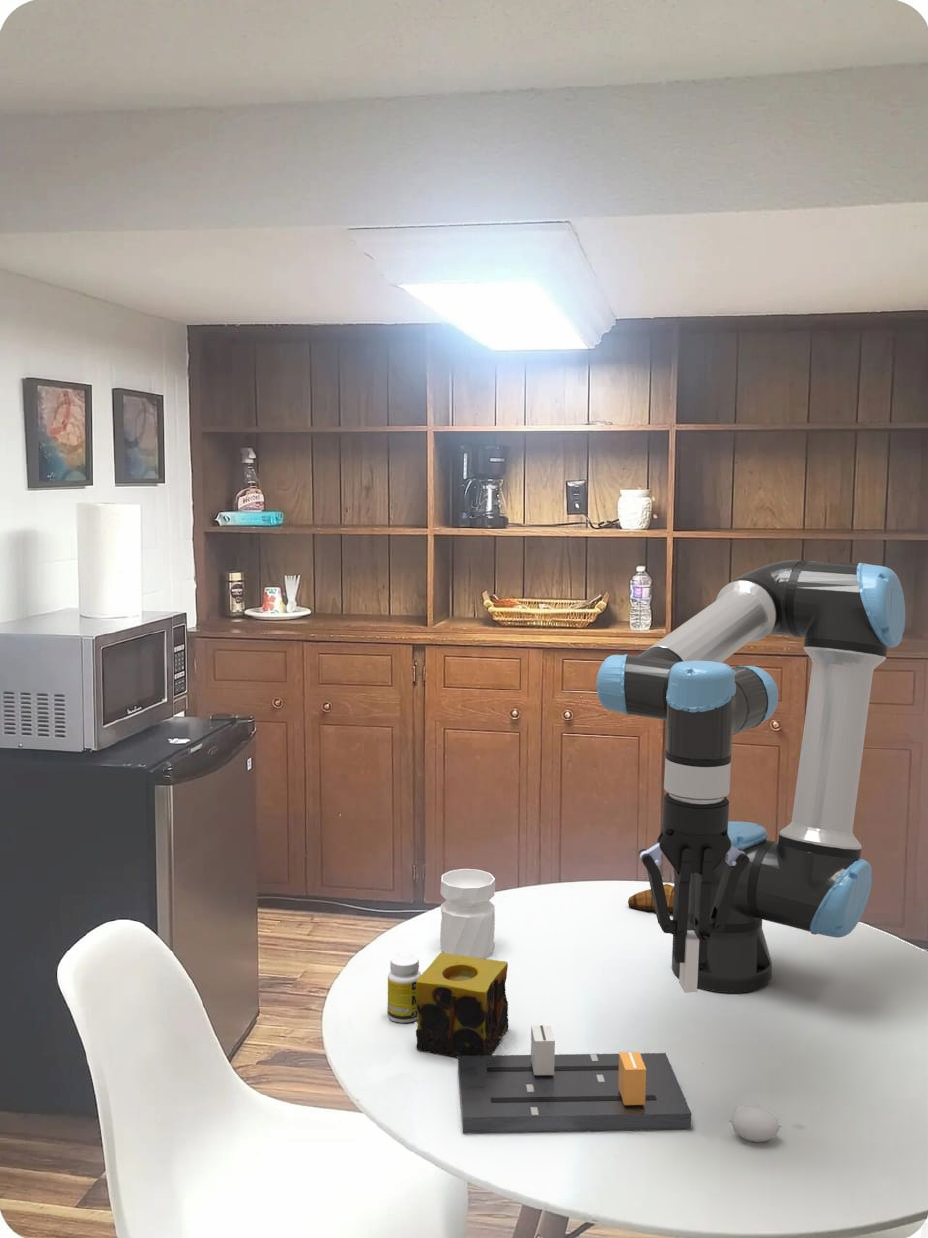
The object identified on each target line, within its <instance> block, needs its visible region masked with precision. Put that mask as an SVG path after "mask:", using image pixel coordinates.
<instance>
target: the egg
mask: <svg viewBox="0 0 928 1238" xmlns="http://www.w3.org/2000/svg"><path fill="white" fill-rule="evenodd" d="M728 1122H729V1123H731V1127H732V1129H733V1131H734V1132H735V1133H736V1134H737V1135H738V1136H739V1137H741V1138H743V1139H744V1140H747V1141H750V1142H756V1143H761V1142H767V1141H769V1140H772V1139H773V1138H774V1137H776V1136H777V1134H778V1133H779V1130H780V1128H782V1125H780V1122H779V1119H778V1118H777V1116H776V1115H775V1114H774V1113H773V1112H772V1111H770V1110H769V1109H767V1108H764V1107H761V1106H756V1105H746V1106H743V1107H740V1108H739V1109H736V1111H734V1113H733V1114H732V1116H731V1119H729V1120H728Z"/></svg>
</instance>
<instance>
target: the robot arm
mask: <svg viewBox="0 0 928 1238" xmlns="http://www.w3.org/2000/svg"><path fill="white" fill-rule="evenodd" d="M904 596H905V595H904V591H903V587H902V585H901V581H900V579H899V576H898V575H897V574H896V572H894V570H892V569H891V568H889V567H887V566H882V565H877V564H875V565H874V564H870V563H869V564H868V563H863V562H859V563H858V562H839V561H838V562H837V561H836V562H835V561H821V560H820V561H818V560H817V561H816V560H804V559H788V560H781V561H778V562H777V561H776V562H774V563H769V564H765V565H764V566H761V567H758V568H755V569H753V570H751V571H748V572H745V573H744V574H742V575H740V576H738V577H737V578H735V579H733V580H732V581H730V582H729V583H728V584H726V585H725V586H724V587H722V588H721V590H720V591H719V593H718V594H717V596H716V597H715V598H716V599H715V601H714V602H713V603H711V604H710V605H708V606H706V607H705V608H704V609H702V610H701V611H699V612H698V613H697V614H695V615H693V616H692V617H691V618H689V619H688V620H687V621H685V622H684V623H682V624H681V625H680V626H678V627H677V628H676V629H674V630H673V631H670V633H668V634H666V635H665V636H664V637H663V638H662V639H660V640H658V641H657V642H655V643H654V644H653V645H651V646H650V647H648V648H647V649H645V651H643V652H641V653H640V654H639V655H636V656H633V655H630V654H626V653H625V654H623V655H621V654H613V655H612V654H611V655H610V656H608V657H606V658H605V659H604V660H603V661H602V663H601V665H600V667H599V669H598V673H597V677H596V696H597V700H598V701H599V703H600V705H601V706H602V707H603V708H605V709H606V710H608V711H611V712H616V713H621V714H624V715H625V716H636V717H637V716H638V717H643V718H650V719H656V720H657V719H658V720H663V721H666V735H665V736H666V738H665V741H666V742H665V746H666V747H665V759H664V760H665V762H664V763H665V764H664V765H665V766H664V780H663V782H664V783H663V789H664V790H665V792H666V793H665V795H664V796H663V798H662V799H663V801H662V803H663V804H662V822H661V823H662V824H661V825H662V826H661V828H662V829H661V832H660V834H659V835H658V837H657V839H656V840H657V843H656V844H654V845H653V846H650V848H648V849H645V848H641V849H640V850H639V851H638V857H639V859H640V860H641V862H642V864H643V865H644V867H645V868H646V872H647V876H648V881H649V887H650V889H651V892H652V896H653V901H654V906H655V911H656V912H655V915H656V919H657V923H658V926H660V929H661V930H662V932H663V933H664V934H669V935H672V947H671V948H672V951H671V953H672V954H671V969H672V972H673V973H674V974H675V976H676V977H677V978H679V979H678V981H679V984H680V986H681V989H682V991H683V992H684V993H698V988H699V989H702V990H708V991H712V992H719V993H729V994H732V993H733V994H734V993H735V994H736V993H737V994H738V993H747V992H748V993H749V992H753V991H756V990H757V991H758V990H760V989H762V988H765V987H766V986H767V985H769V983H770V982H771V980H772V977H773V976H772V974H773V973H772V972H773V962H772V958H771V954H770V950H769V947H768V943H767V940H766V938H765V933H764V930H763V921H767V922H772V923H774V924H778V925H784V926H787V927H790V928H795V929H799V930H802V931H806V932H809V933H810V934H812V935H821V936H826V937H831V938H837V939H838V938H843V937H846V936H847V935H849V934H851V933H852V931H853V930H854V929H855V928H856V926H857V925H858V923H859V922H860V920H861V918H862V917H863V915H864V911H865V909H866V906H867V905H868V904H867V903H868V901H869V899H870V898H869V897H870V893H871V888H872V883H873V876H872V875H873V869H872V868H873V867H872V865H871V864H870V862H868V861H866V859H863V858H861V855H862V844H861V843H860V841H859V840H858V839H857V837H855V835H854V832H853V829H854V822H855V814H856V806H857V805H856V804H857V799H858V798H857V797H858V793H859V785H860V784H859V783H860V775H861V774H860V773H861V770H862V769H861V768H862V767H861V766H862V761H863V760H862V759H863V753H864V752H863V751H864V743H865V736H866V729H867V722H868V721H867V720H868V713H869V706H870V699H871V692H872V683H873V675H874V670H875V669H876V668H877V667H878V666H879V665H881V664H882V663H884V662H885V661H886V659H887V653H888V649H891V648H895V647H898V646H899V645H900V643H902V640H903V634H904V633H905V626H906V603H905V597H904ZM767 636H786V637H795V638H803V639H804V643H803V650H804V652H805V653H806V654H807V655H808V657H809V658H810V660H811V662H812V664H811V669H810V670H811V673H810V681H809V685H808V686H809V688H808V695H807V700H806V701H807V702H806V710H805V717H804V725H803V732H802V740H801V747H800V754H799V755H800V756H799V763H798V770H797V778H796V779H797V780H796V787H795V792H794V801H793V806H792V807H793V808H792V816H791V822H790V823H789V824H788V825H787V826H785V827H784V828H782V829H781V830H780V831H779V832H778V839H777V841H773V840H769V839H768V836H769V834H768V831H767V830H766V828H765V827H764V826H762V825H760V824H758V823H754V822H748V821H747V822H746V821H729V813H730V811H729V810H730V800H729V799H728V798H727V796H728V795H729V794H730V791H731V766H732V746H733V736H734V735H736V734H739V733H741V732H744V731H747V730H751V729H755V728H756V727H757V728H758V726H760V725H762V723H763V722H765V721H767V720H769V718H771V717H772V716H773V714H774V713H775V712H776V709H777V706H778V704H779V703H778V702H779V691H778V686H777V684H776V682H775V680H774V679H773V677H772V676H771V675H770V673H768V672H767V671H765V670H764V669H762V668H761V667H757V666H754V665H737V666H734V667H732V666H730V665H729V664H727V663H723V662H724V661H726V660H727V659H729V657H731V656H732V655H733V654H735V653H736V652H737V651H738V650H739V649H741V648H743V647H744V646H745V645H747V643H754V642H758V641H761V640H763V639H764V638H766V637H767ZM662 854H663V855H664V857H665V858H666V859H667V861H668V862H669V863H670V865H671V866H672V868H673V874H674V880H673V886H674V900H673V913H672V919H671V916H670V914H669V910H668V905H667V900H666V895H665V891H664V886H663V885H664V881H663V878H662V873H661V870H660V868H659V867H660V866H661V864H662V863H663V862H662Z"/></svg>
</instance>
